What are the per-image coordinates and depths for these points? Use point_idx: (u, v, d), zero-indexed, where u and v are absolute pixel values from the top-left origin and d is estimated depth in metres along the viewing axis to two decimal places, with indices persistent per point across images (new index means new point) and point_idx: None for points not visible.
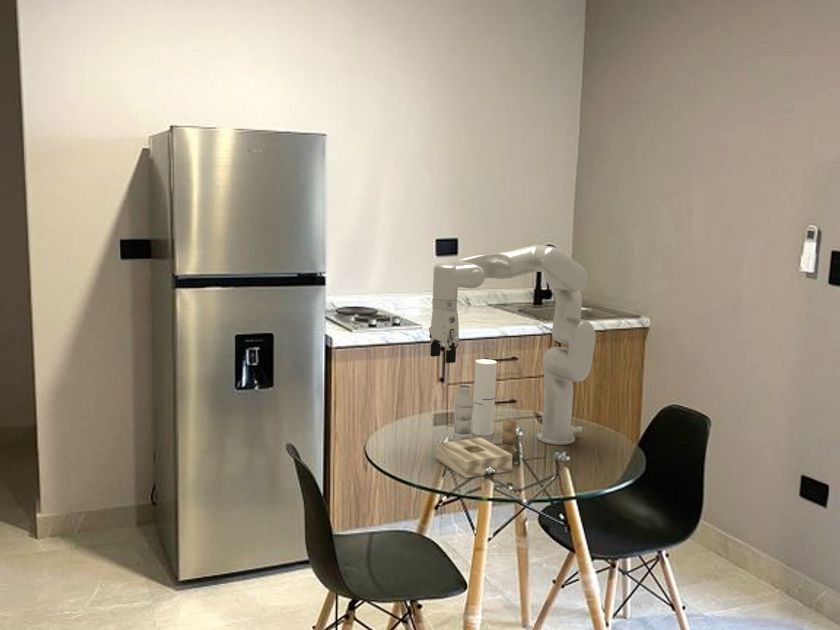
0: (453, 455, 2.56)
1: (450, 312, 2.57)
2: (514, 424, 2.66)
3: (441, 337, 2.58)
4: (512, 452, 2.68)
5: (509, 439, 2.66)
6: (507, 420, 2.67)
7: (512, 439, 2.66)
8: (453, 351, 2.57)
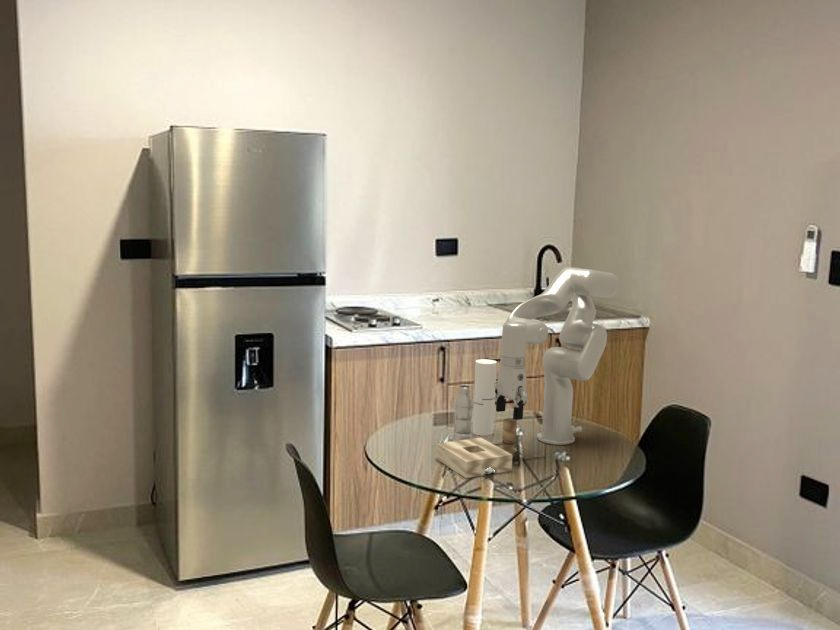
0: (453, 455, 2.56)
1: (519, 370, 2.61)
2: (514, 424, 2.66)
3: (509, 394, 2.62)
4: (512, 452, 2.68)
5: (509, 439, 2.66)
6: (507, 420, 2.67)
7: (512, 439, 2.66)
8: (521, 408, 2.61)
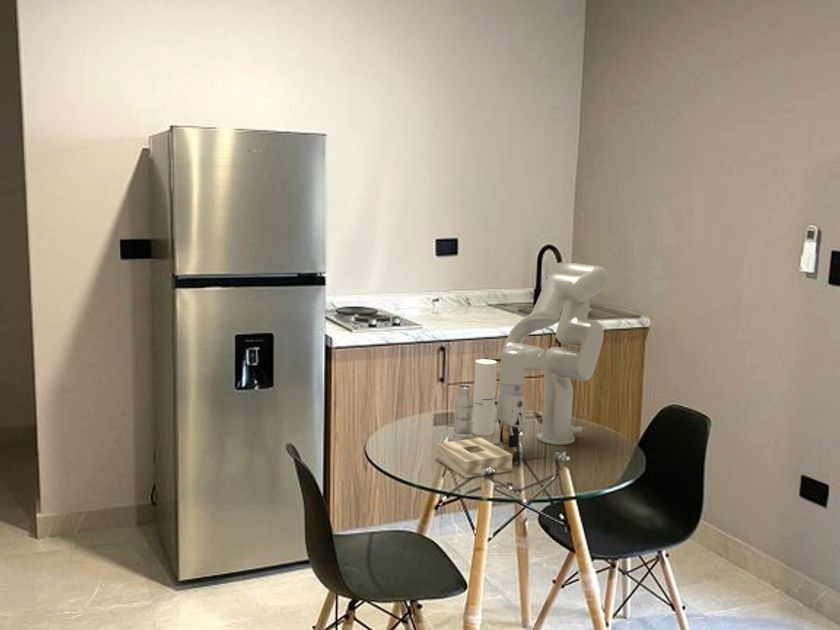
0: (453, 455, 2.56)
1: (518, 397, 2.62)
2: None
3: (508, 420, 2.64)
4: (512, 452, 2.68)
5: None
6: None
7: None
8: (516, 436, 2.65)
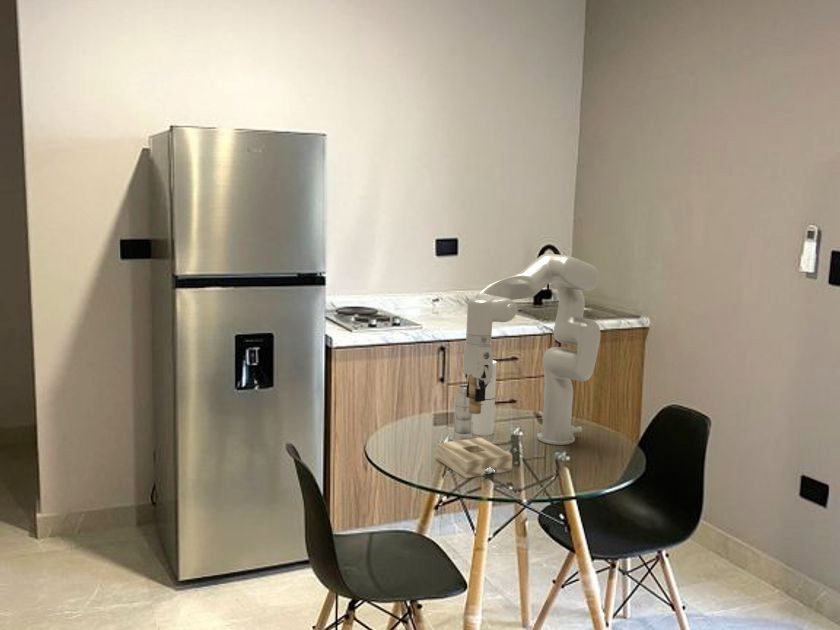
0: (453, 455, 2.56)
1: (485, 348, 2.51)
2: None
3: (475, 373, 2.53)
4: (478, 407, 2.57)
5: None
6: None
7: None
8: (482, 390, 2.54)
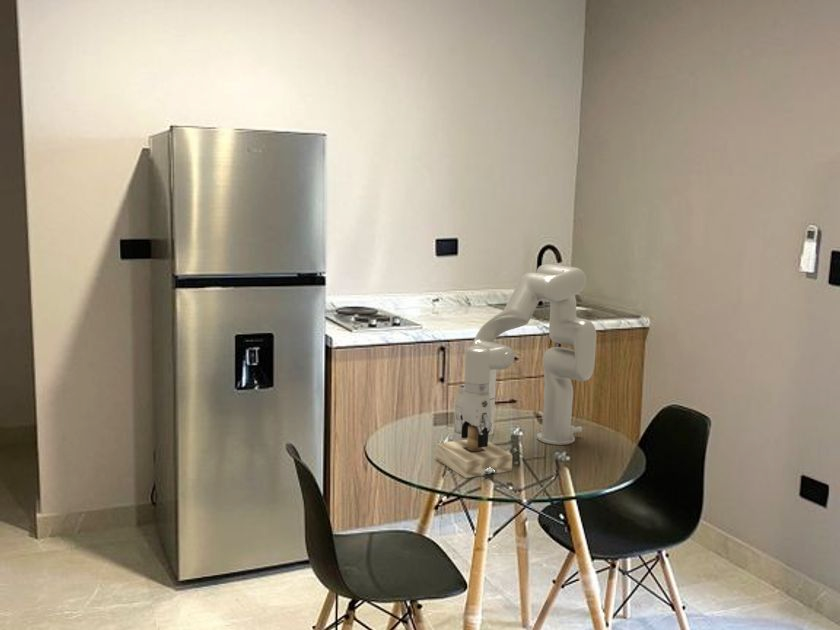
0: (453, 455, 2.56)
1: (483, 396, 2.54)
2: None
3: (473, 421, 2.56)
4: None
5: (474, 446, 2.58)
6: (472, 427, 2.59)
7: (477, 446, 2.58)
8: (485, 435, 2.55)
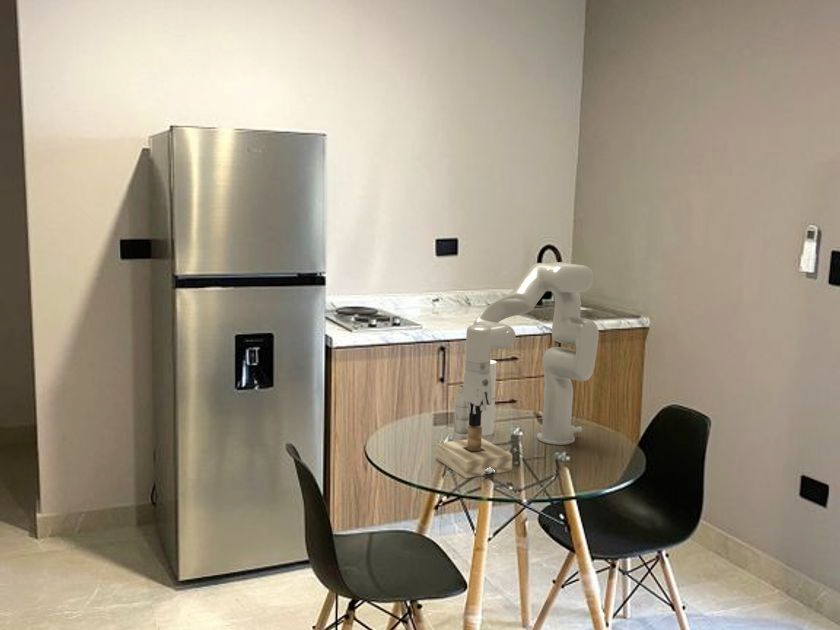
0: (453, 455, 2.56)
1: (484, 375, 2.53)
2: (479, 431, 2.58)
3: (474, 400, 2.54)
4: None
5: (474, 446, 2.58)
6: (472, 427, 2.59)
7: (477, 446, 2.58)
8: (478, 415, 2.57)
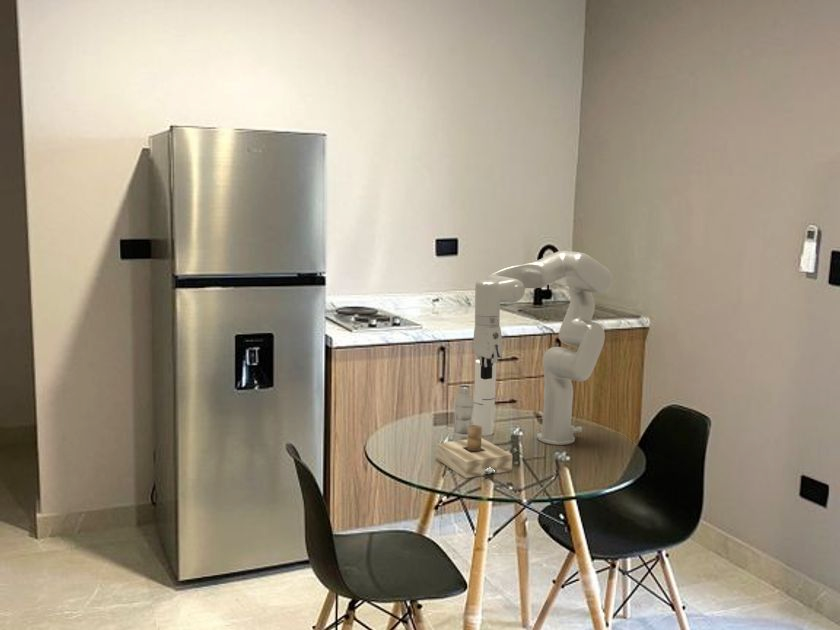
0: (453, 455, 2.56)
1: (494, 328, 2.57)
2: (479, 431, 2.58)
3: (485, 353, 2.59)
4: None
5: (474, 446, 2.58)
6: (472, 427, 2.59)
7: (477, 446, 2.58)
8: (489, 367, 2.62)
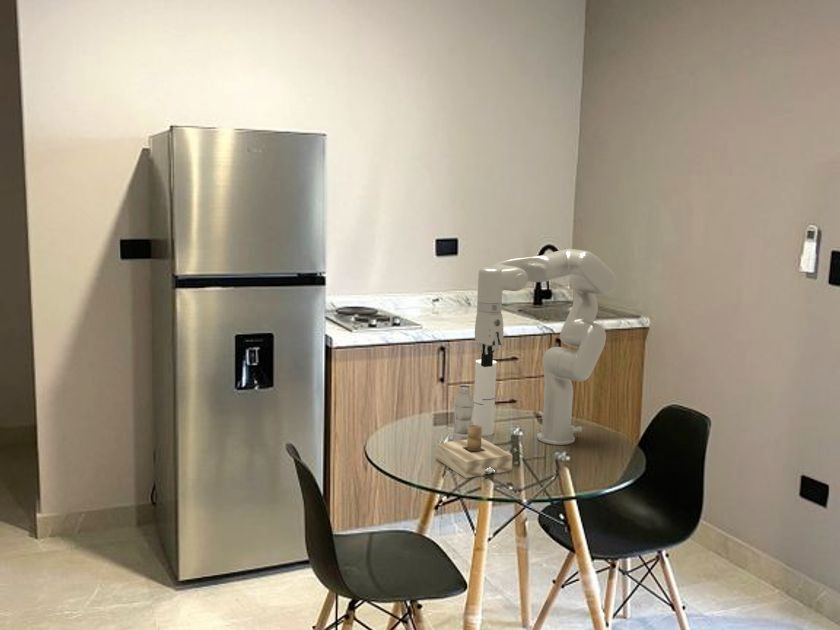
0: (453, 455, 2.56)
1: (495, 315, 2.58)
2: (479, 431, 2.58)
3: (486, 340, 2.60)
4: None
5: (474, 446, 2.58)
6: (472, 427, 2.59)
7: (477, 446, 2.58)
8: (490, 355, 2.63)
